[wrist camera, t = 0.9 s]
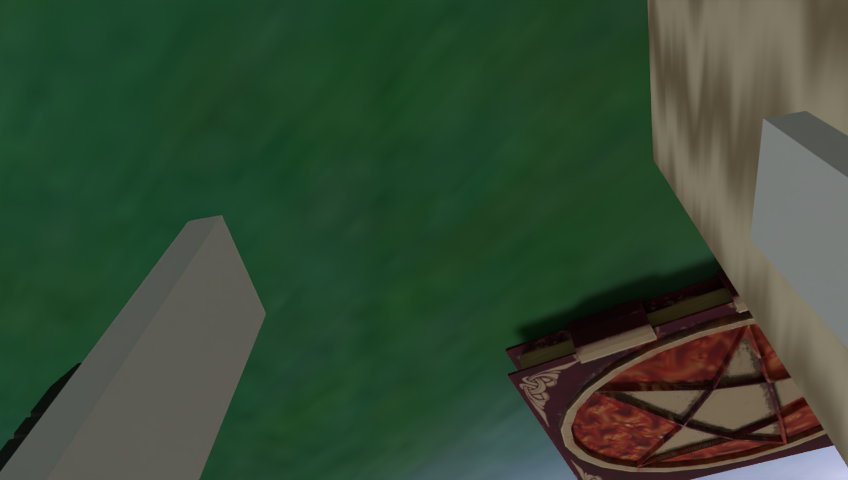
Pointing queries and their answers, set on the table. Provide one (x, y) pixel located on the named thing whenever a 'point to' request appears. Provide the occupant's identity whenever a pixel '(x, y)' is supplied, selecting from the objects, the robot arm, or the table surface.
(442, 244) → the table surface
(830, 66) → the zigzag arch block
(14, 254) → the table surface
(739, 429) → the book
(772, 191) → the robot arm
